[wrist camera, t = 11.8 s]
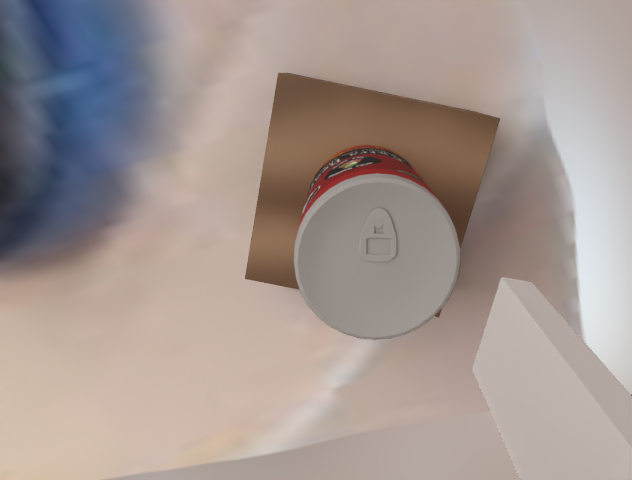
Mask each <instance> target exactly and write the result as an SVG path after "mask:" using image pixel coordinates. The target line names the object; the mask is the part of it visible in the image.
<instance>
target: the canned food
mask: <svg viewBox="0 0 632 480" xmlns="http://www.w3.org/2000/svg"><path fill="white" fill-rule="evenodd" d="M459 266H460V246H459V242H458V237H457V233H456V230H455V227H454V224H453V222H452V220H451V218H450V216H449V214H448V212H447V210H446V209H445V208H444V206H443V205H442V203H441V202H440V201H439V199H438V198H437V197H436V195H435V194H434V193H433V192H432V190H431V189H430V188H429V187H428V185H427V184H426V183H425V182H424V181H423V179H422V178H421V177H420V176H419V174H418V173H417V172H416V171H415V170H414V168H413V167H412V166H411V165H410V164H409V163H408V162H407V161H406V160H405V159H404V158H403V157H402V156H400V155H399V154H397V153H395V152H393V151H392V150H390V149H387V148H383V147H380V146H374V145H361V146H353V147H350V148H347V149H344V150H342V151H340V152H338V153H337V154H335V155H333V156H332V157H331V158H330V159H328V160H327V161H326V162H325V163H324V164H323V165H322V166H321V168H320V169H319V170H318V171H317V173H316V174H315V176H314V178H313V180H312V182H311V185H310V188H309V192H308V195H307V199H306V202H305V206H304V209H303V213H302V216H301V220H300V223H299V227H298V231H297V234H296V240H295V246H294V267H295V274H296V280H297V283H298V286H299V289H300V291H301V294H302V296H303V297H304V299H305V301H306V302H307V304H308V306H309V307H310V308H311V309H312V311H313V312H314V313H315V314H316V315H317V316H318V317H319V318H320V319H321V320H322V321H324V322H325V323H326V324H328V325H329V326H330V327H332V328H334V329H336V330H338V331H340V332H342V333H344V334H347V335H350V336H354V337H357V338H362V339H373V340H377V339H389V338H393V337H397V336H401V335H404V334H407V333H409V332H411V331H413V330H415V329H417V328H419V327H421V326H422V325H423V324H425V323H426V322H428V321H429V320H430V319H432V318H433V317H434V316H435V315H436V314H437V313H438V311H439V310H440V309H441V308H442V307H443V306H444V304H445V303H446V301H447V300H448V298H449V296H450V295H451V293H452V291H453V288H454V286H455V283H456V281H457V277H458V272H459Z"/></svg>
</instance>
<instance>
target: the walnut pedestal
mask: <svg viewBox="0 0 632 480" xmlns="http://www.w3.org/2000/svg"><path fill="white" fill-rule="evenodd" d="M499 121H500V118H496V117H493V116H489V115H485V114H482V113H478V112H474V111H469V110H464V109H460V108H455V107H450V106H445V105H440V104H435V103H430V102H426V101H421V100H416V99H411V98H406V97H401V96H397V95H392V94H387V93H382V92H377V91H372V90H368V89H363V88H358V87H353V86H348V85H343V84H338V83H334V82H329V81H324V80H319V79H314V78H309V77H305V76H300V75H295V74H290V73H278V78H277V84H276V90H275V96H274V103H273V109H272V115H271V121H270V127H269V133H268V140H267V146H266V152H265V158H264V164H263V171H262V177H261V183H260V189H259V195H258V201H257V208H256V214H255V220H254V226H253V232H252V238H251V245H250V251H249V257H248V263H247V269H246V275H245V279H249V280H254V281H259V282H264V283H269V284H274V285H279V286H284V287H290V288H295V289H299V286H298V283H297V280H296V274H295V267H294V246H295V240H296V234H297V231H298V227H299V223H300V220H301V216H302V213H303V209H304V206H305V202H306V199H307V195H308V192H309V188H310V185H311V182H312V180H313V178H314V176H315V174H316V173H317V171H318V170H319V169H320V168H321V166H322V165H323V164H324V163H325V162H326V161H327V160H328V159H330V158H331V157H332V156H333V155H335V154H337V153H338V152H340V151H342V150H344V149H347V148H350V147H353V146H361V145H374V146H380V147H383V148H387V149H390V150H392V151H393V152H395V153H397V154H399V155H400V156H402V157H403V158H404V159H405V160H406V161H407V162H408V163H409V164H410V165H411V166H412V167H413V168H414V170H415V171H416V172H417V173H418V174H419V176H420V177H421V178H422V179H423V181H424V182H425V183H426V184H427V185H428V187H429V188H430V189H431V190H432V192H433V193H434V194H435V195H436V197H437V198H438V199H439V201H440V202H441V203H442V205H443V206H444V208H445V209H446V210H447V212H448V214H449V216H450V218H451V220H452V222H453V224H454V227H455V230H456V233H457V237H458V242H459V246H460V247H461V244H462V241H463V238H464V234H465V231H466V228H467V225H468V221H469V218H470V215H471V212H472V208H473V205H474V202H475V199H476V195H477V192H478V189H479V186H480V182H481V179H482V176H483V173H484V169H485V166H486V163H487V160H488V156H489V153H490V150H491V147H492V143H493V140H494V137H495V134H496V130H497V127H498V124H499ZM441 309H442V308H441ZM441 309H440V310H439V311H438V313H437V314H436V315H435V316H436V317H439V315H440V312H441Z"/></svg>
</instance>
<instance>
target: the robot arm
mask: <svg viewBox="0 0 632 480" xmlns="http://www.w3.org/2000/svg"><path fill="white" fill-rule="evenodd" d="M472 370H473V373H474V375H475V377H476V380H477V382H478V384H479V386H480V389H481V391H482V393H483V396H484V398H485V400H486V403H487V405H488V407H489V409H490V412H491V414H492V416H493V419H494V421H495V423H496V426H497V428H498V430H499V432H500V435H501V437H502V439H503V441H504V444H505V446H506V449H507V451H508V453H509V455H510V458H511V460H512V462H513V464H514V467H515V469H516V472H517V474H518V476H519V478H520V480H632V395H630V394H629V392H628V391H627V390H626V389H625V388H624V387H623V386H622V384H621V383H620V382H619V381H618V380H617V379H616V378H615V376H614V375H613V374H612V373H611V372H610V371H609V370H608V368H607V367H606V366H605V365H604V364H603V363H602V362H601V361H600V360H599V358H598V357H597V356H596V355H595V354H594V353H593V351H592V350H591V349H590V348H589V347H588V346H587V345H586V343H585V342H584V341H583V340H582V339H581V338H580V337H579V336H578V334H577V333H576V332H575V331H574V330H573V329H572V328H571V326H570V325H569V324H568V323H567V322H566V321H565V320H564V318H563V317H562V316H561V315H560V314H559V313H558V312H557V311H556V309H555V308H554V307H553V306H552V305H551V304H550V303H549V301H548V300H547V299H546V298H545V297H544V296H543V295H542V293H541V292H540V291H539V290H538V289H537V288H536V287H535V286H534V284H533V283H532V282H529V281H523V280H517V279H511V278H505V277H501V280H500V283H499V286H498V289H497V292H496V295H495V299H494V302H493V305H492V308H491V311H490V314H489V317H488V320H487V324H486V327H485V330H484V333H483V336H482V339H481V342H480V345H479V349H478V352H477V355H476V358H475V361H474V364H473V367H472Z"/></svg>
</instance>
